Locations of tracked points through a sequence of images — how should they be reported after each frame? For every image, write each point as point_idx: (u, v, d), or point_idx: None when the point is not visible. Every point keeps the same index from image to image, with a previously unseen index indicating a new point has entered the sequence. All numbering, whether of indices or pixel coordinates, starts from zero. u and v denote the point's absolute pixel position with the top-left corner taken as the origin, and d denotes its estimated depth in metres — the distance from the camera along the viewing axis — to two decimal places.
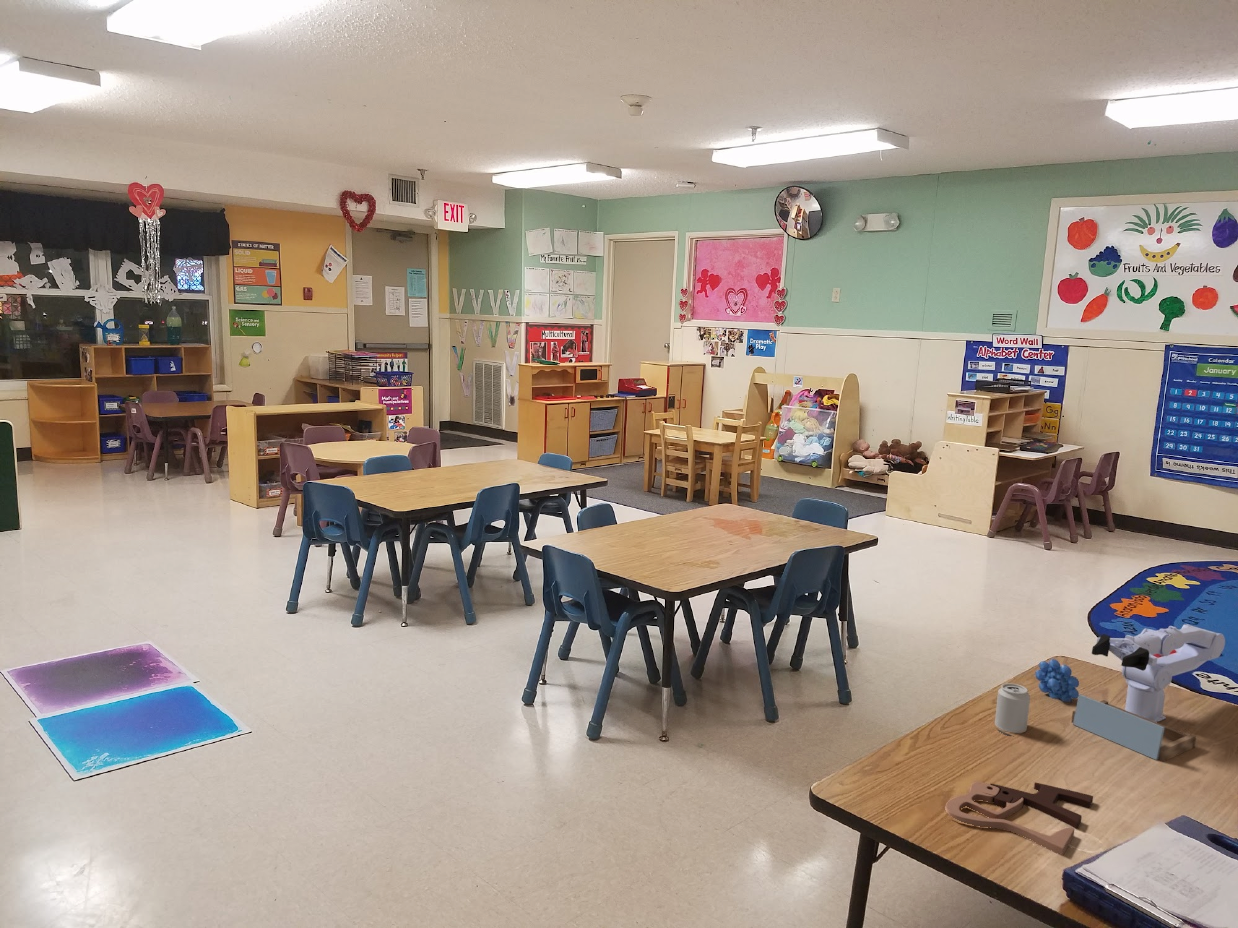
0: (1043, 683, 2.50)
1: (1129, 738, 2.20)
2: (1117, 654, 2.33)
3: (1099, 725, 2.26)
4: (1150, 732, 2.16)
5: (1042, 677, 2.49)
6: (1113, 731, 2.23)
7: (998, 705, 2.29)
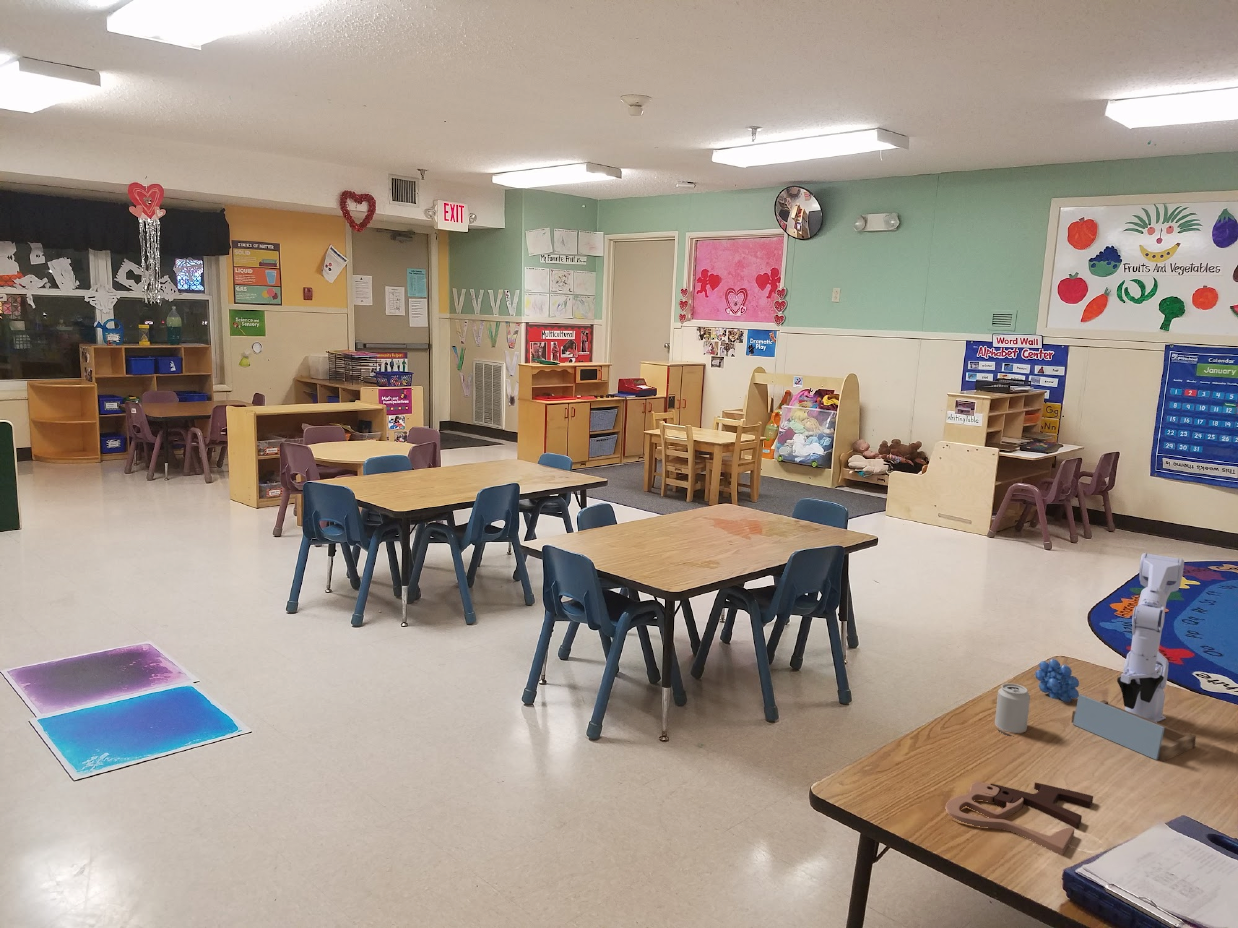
0: (1043, 683, 2.50)
1: (1129, 738, 2.20)
2: None
3: (1099, 725, 2.26)
4: (1150, 732, 2.16)
5: (1042, 677, 2.49)
6: (1113, 731, 2.23)
7: (998, 705, 2.29)
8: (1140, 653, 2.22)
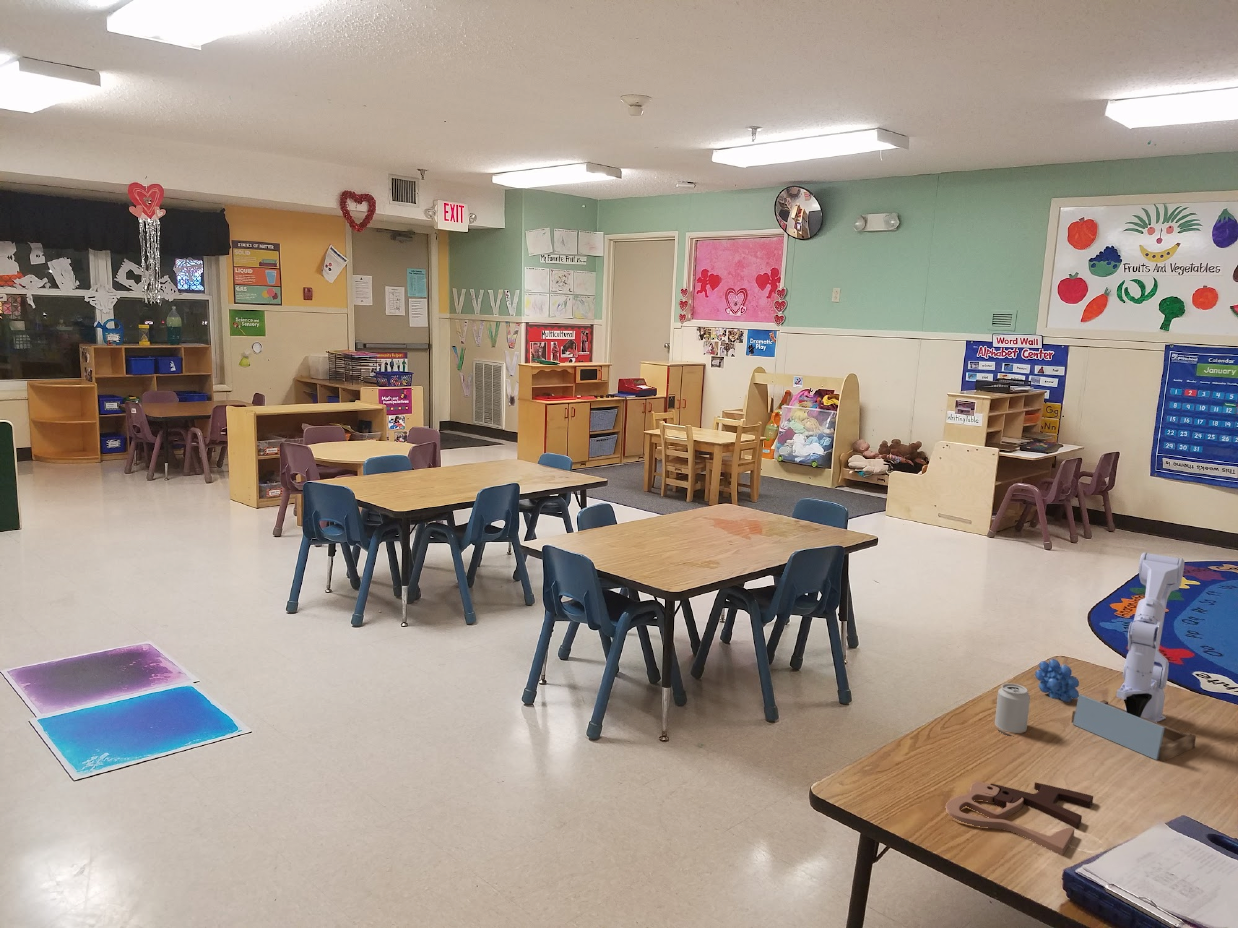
0: (1043, 683, 2.50)
1: (1129, 738, 2.20)
2: None
3: (1099, 725, 2.26)
4: (1150, 732, 2.16)
5: (1042, 677, 2.49)
6: (1113, 731, 2.23)
7: (998, 705, 2.29)
8: (1136, 669, 2.22)
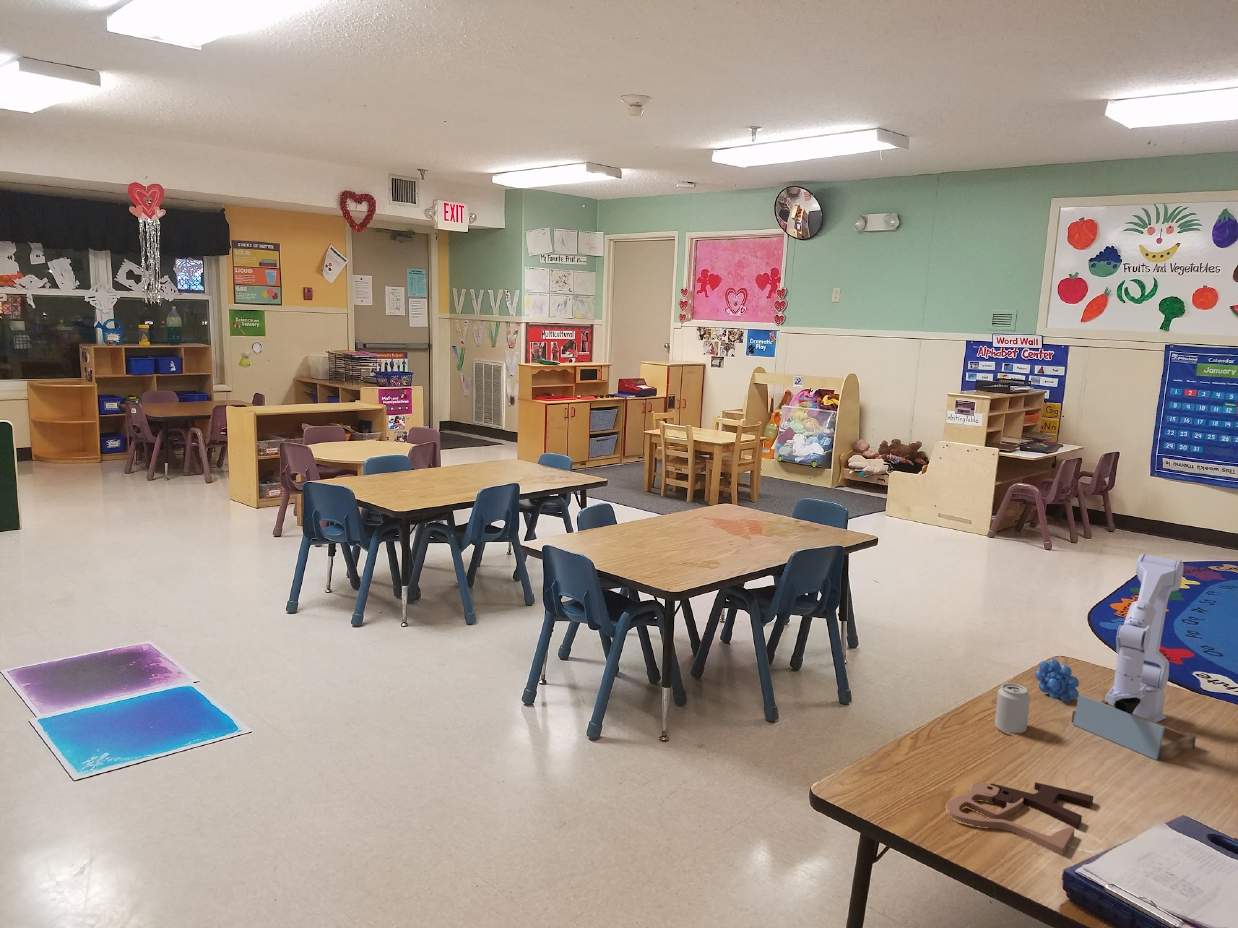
0: (1043, 683, 2.50)
1: (1129, 738, 2.20)
2: None
3: (1099, 725, 2.26)
4: (1150, 732, 2.16)
5: (1042, 677, 2.49)
6: (1113, 731, 2.23)
7: (998, 705, 2.29)
8: (1123, 672, 2.20)
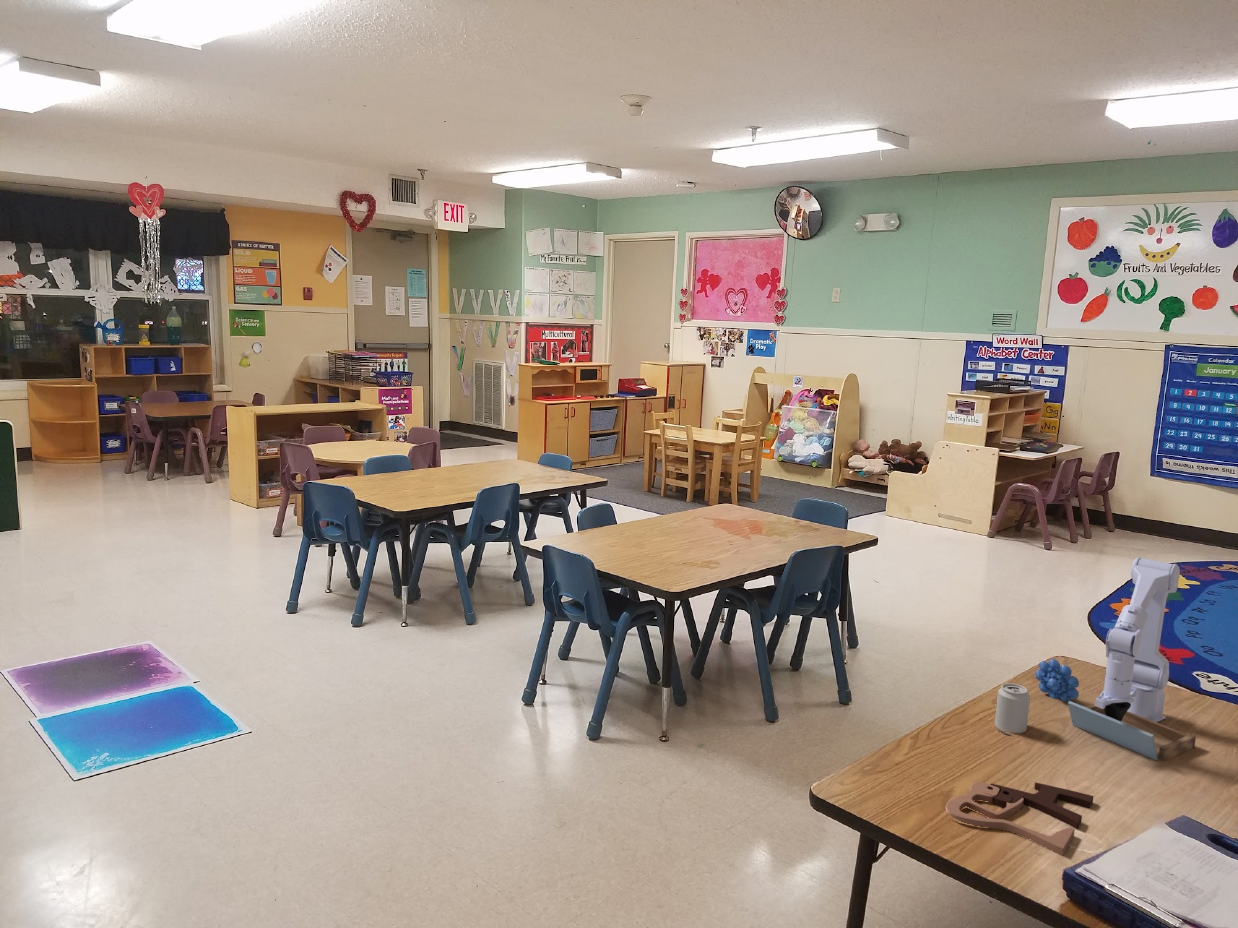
0: (1043, 683, 2.50)
1: (1126, 742, 2.19)
2: None
3: (1096, 729, 2.25)
4: (1142, 739, 2.14)
5: (1042, 677, 2.49)
6: (1110, 735, 2.22)
7: (998, 705, 2.29)
8: (1113, 677, 2.18)
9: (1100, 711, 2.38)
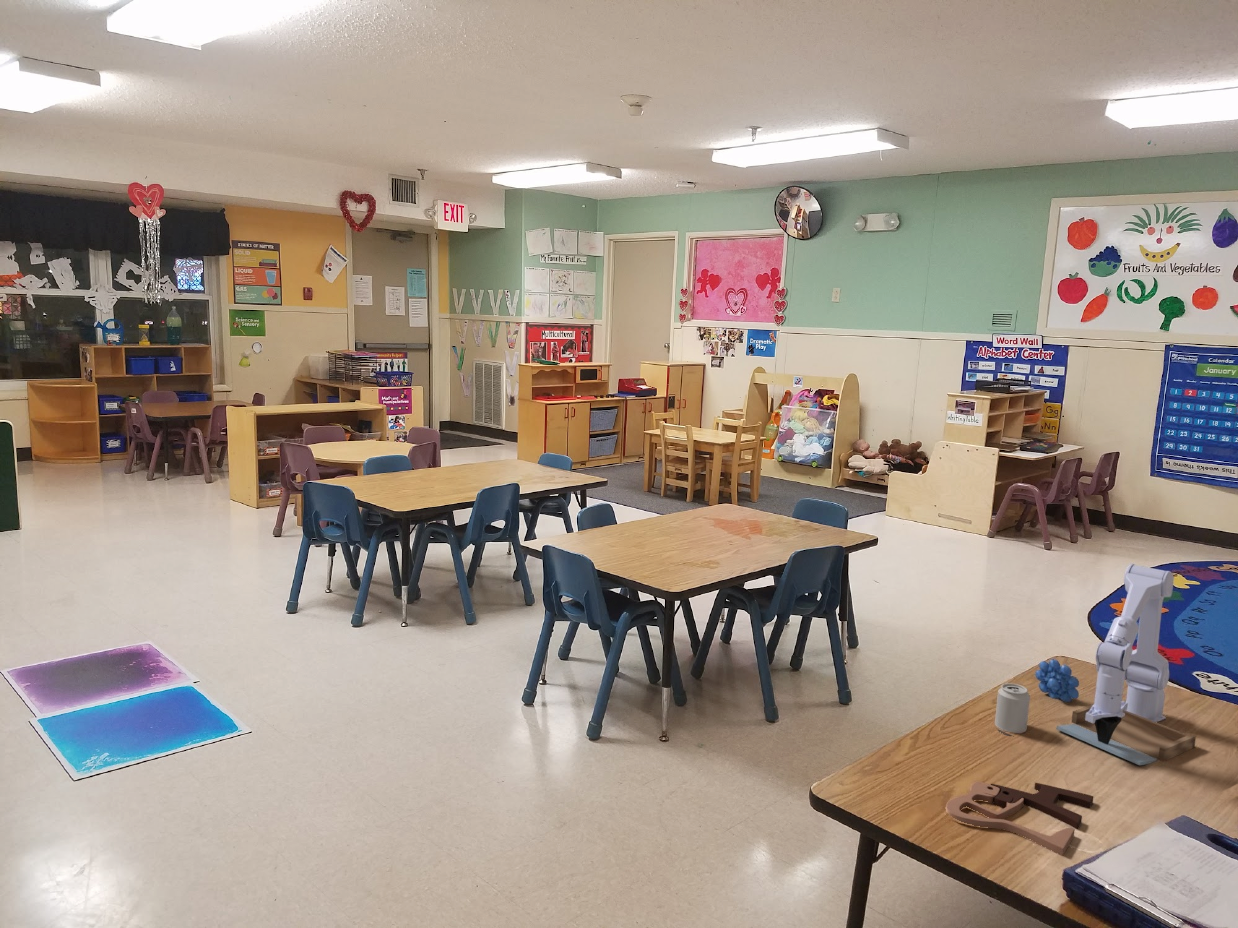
0: (1043, 683, 2.50)
1: None
2: None
3: None
4: None
5: (1042, 677, 2.49)
6: None
7: (998, 705, 2.29)
8: (1103, 691, 2.16)
9: None
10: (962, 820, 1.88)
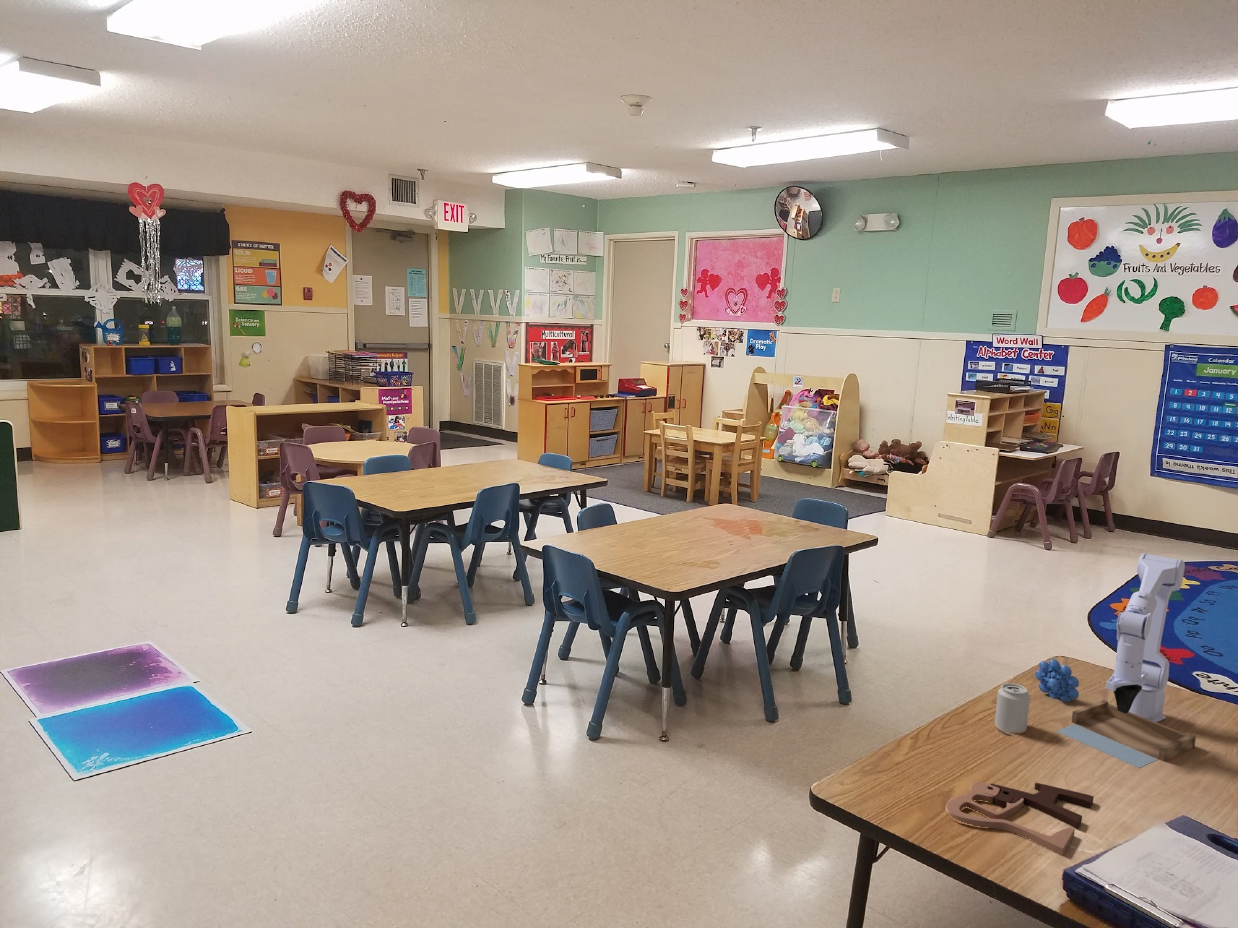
0: (1043, 683, 2.50)
1: None
2: None
3: None
4: None
5: (1042, 677, 2.49)
6: None
7: (998, 705, 2.29)
8: (1124, 660, 2.19)
9: (1100, 711, 2.38)
10: (962, 820, 1.88)
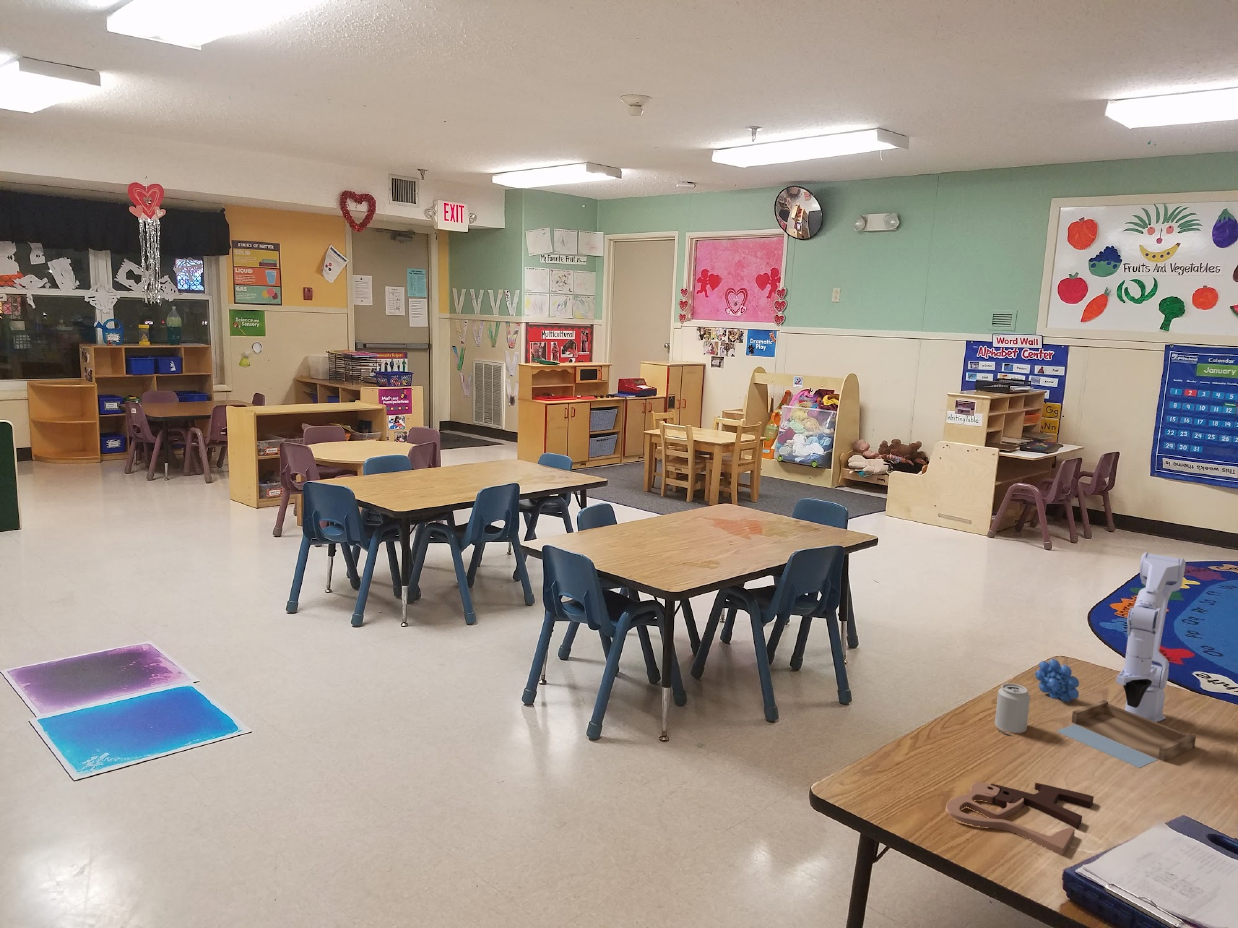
0: (1043, 683, 2.50)
1: None
2: None
3: None
4: None
5: (1042, 677, 2.49)
6: None
7: (998, 705, 2.29)
8: (1135, 654, 2.21)
9: (1100, 711, 2.38)
10: (962, 820, 1.88)
